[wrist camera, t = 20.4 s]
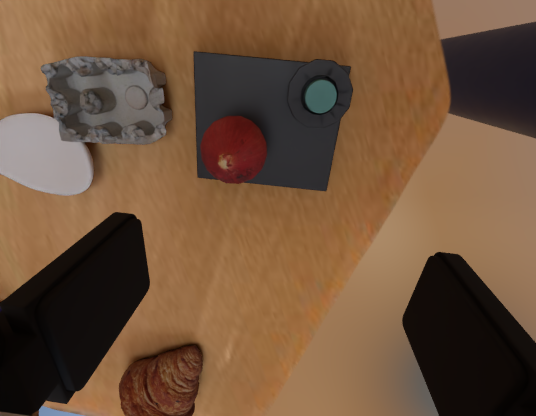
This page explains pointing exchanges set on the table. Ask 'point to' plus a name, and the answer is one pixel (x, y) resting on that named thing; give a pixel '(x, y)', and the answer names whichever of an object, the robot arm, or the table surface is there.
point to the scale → (274, 112)
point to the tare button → (320, 96)
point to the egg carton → (107, 100)
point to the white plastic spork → (43, 155)
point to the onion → (233, 149)
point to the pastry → (162, 384)
